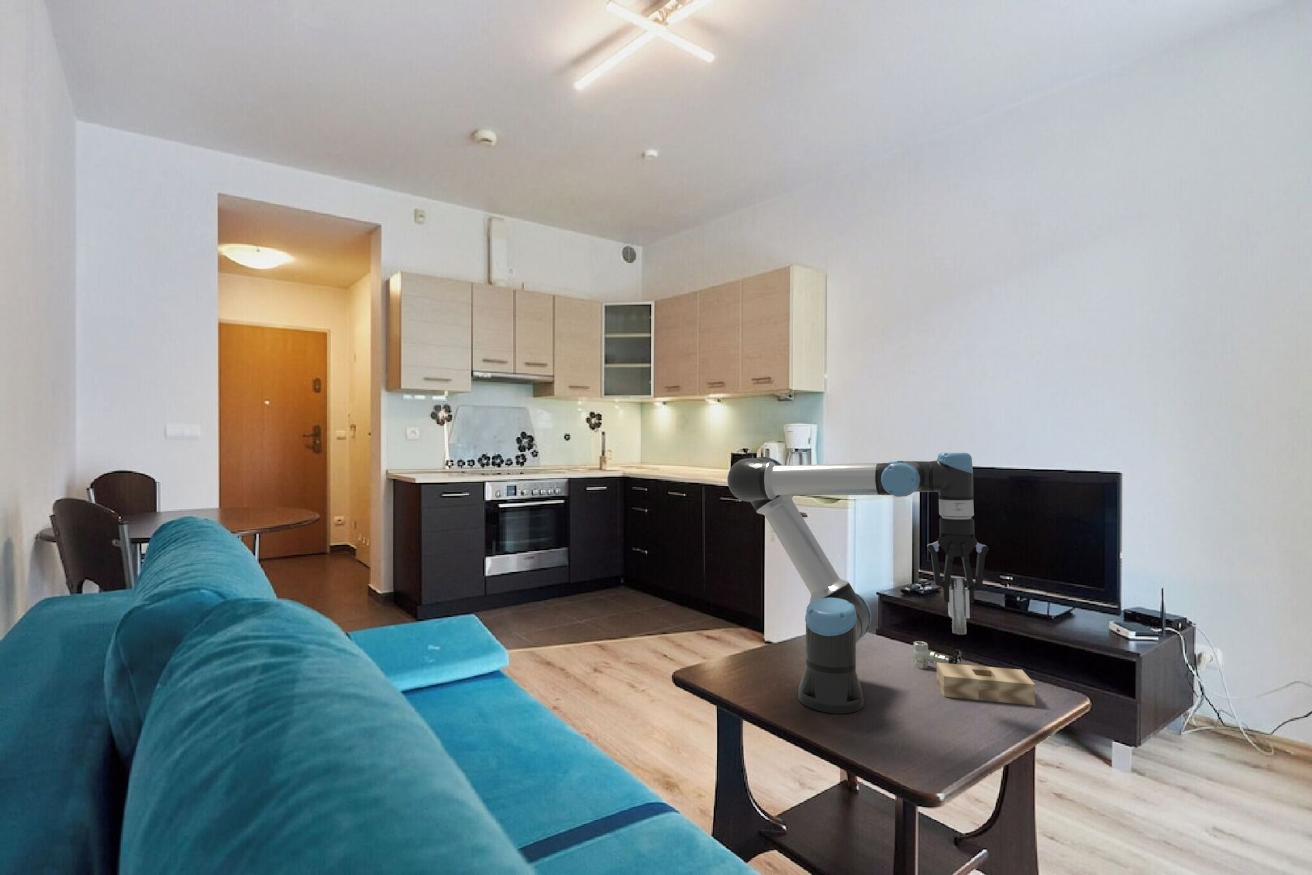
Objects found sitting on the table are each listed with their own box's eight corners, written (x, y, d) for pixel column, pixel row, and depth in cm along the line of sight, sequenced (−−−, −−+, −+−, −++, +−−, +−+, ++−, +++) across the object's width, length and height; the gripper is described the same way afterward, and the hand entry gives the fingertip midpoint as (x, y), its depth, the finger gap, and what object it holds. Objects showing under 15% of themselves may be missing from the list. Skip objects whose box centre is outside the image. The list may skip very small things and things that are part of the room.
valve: (909, 668, 175) (956, 678, 168) (909, 644, 175) (956, 653, 168) (916, 661, 180) (962, 671, 173) (916, 638, 180) (962, 646, 173)
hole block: (943, 696, 156) (943, 676, 156) (936, 681, 165) (936, 662, 165) (1035, 705, 151) (1035, 684, 151) (1022, 689, 160) (1022, 669, 160)
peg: (953, 634, 150) (951, 578, 150) (951, 630, 153) (950, 576, 153) (967, 634, 149) (965, 579, 149) (965, 631, 152) (963, 576, 152)
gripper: (922, 518, 150) (924, 618, 150) (996, 519, 145) (999, 622, 145) (919, 515, 157) (921, 610, 157) (990, 516, 152) (992, 614, 152)
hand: (958, 615), depth 151 cm, fingers closed on peg, 3 cm apart
